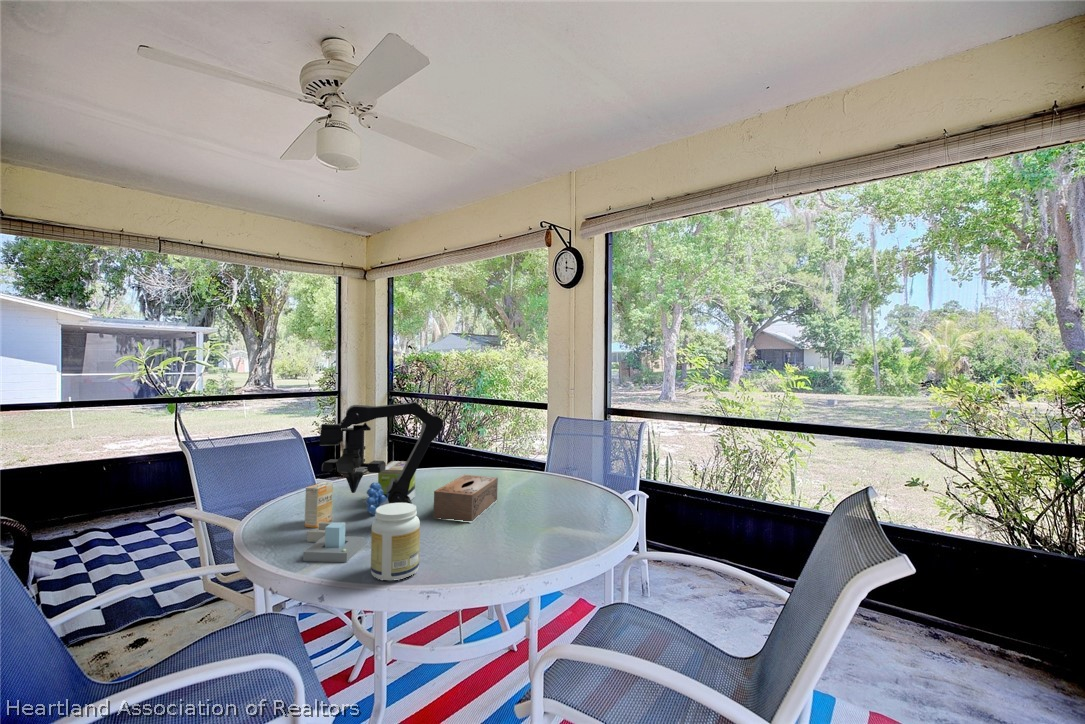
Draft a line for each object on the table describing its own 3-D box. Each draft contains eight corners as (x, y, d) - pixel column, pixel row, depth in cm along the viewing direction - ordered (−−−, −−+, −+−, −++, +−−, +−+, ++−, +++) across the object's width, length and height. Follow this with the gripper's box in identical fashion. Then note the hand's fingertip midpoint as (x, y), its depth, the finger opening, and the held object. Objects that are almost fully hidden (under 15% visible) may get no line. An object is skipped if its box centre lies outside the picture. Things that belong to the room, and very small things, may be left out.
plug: (344, 550, 137) (345, 522, 137) (338, 556, 133) (339, 527, 133) (331, 549, 137) (331, 522, 137) (324, 555, 133) (325, 527, 133)
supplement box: (316, 528, 154) (317, 488, 154) (304, 527, 155) (304, 487, 155) (333, 520, 162) (333, 482, 162) (320, 519, 163) (321, 481, 163)
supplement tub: (425, 563, 130) (426, 502, 130) (409, 584, 118) (411, 516, 118) (381, 561, 130) (383, 500, 130) (362, 581, 118) (363, 514, 118)
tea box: (391, 496, 192) (392, 460, 192) (415, 497, 192) (416, 460, 192) (376, 507, 177) (377, 468, 177) (403, 508, 177) (404, 469, 177)
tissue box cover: (471, 524, 163) (472, 495, 163) (433, 519, 166) (434, 491, 166) (497, 502, 188) (497, 477, 188) (463, 499, 191) (464, 474, 191)
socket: (363, 545, 141) (364, 535, 141) (346, 562, 129) (346, 551, 129) (324, 544, 141) (324, 534, 141) (303, 560, 129) (303, 550, 129)
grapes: (380, 521, 162) (381, 486, 162) (360, 520, 163) (361, 485, 163) (392, 510, 174) (392, 478, 174) (373, 509, 174) (374, 477, 174)
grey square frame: (345, 531, 152) (346, 522, 152) (332, 542, 143) (333, 532, 143) (321, 530, 152) (321, 521, 152) (306, 541, 143) (307, 531, 143)
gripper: (313, 448, 144) (312, 499, 144) (374, 449, 144) (372, 500, 144) (330, 441, 156) (329, 489, 156) (386, 443, 155) (385, 490, 155)
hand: (353, 492), depth 152 cm, fingers closed
